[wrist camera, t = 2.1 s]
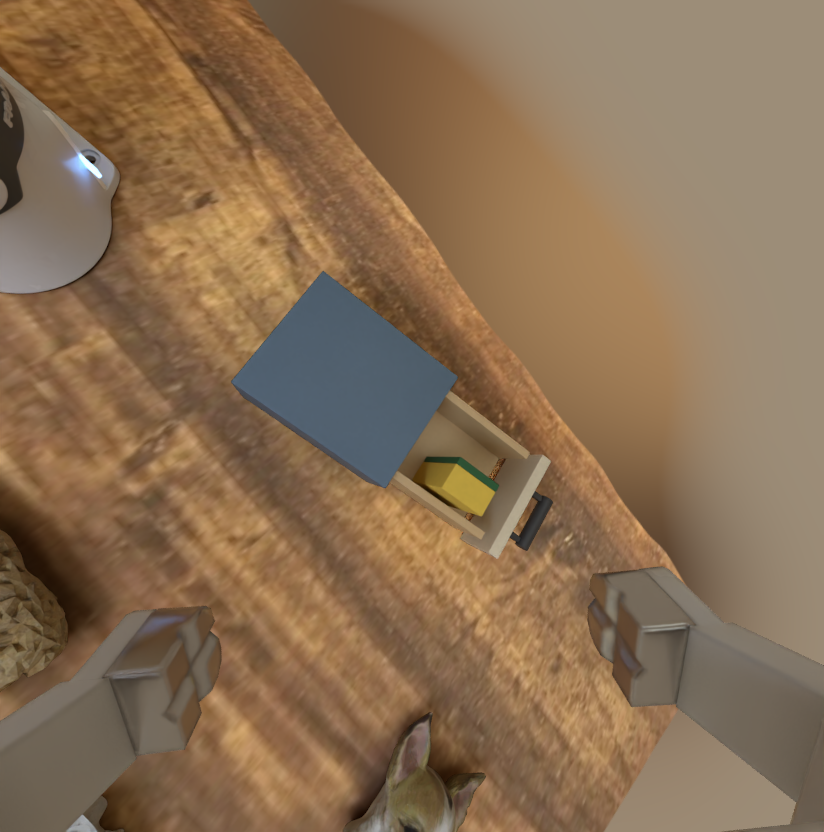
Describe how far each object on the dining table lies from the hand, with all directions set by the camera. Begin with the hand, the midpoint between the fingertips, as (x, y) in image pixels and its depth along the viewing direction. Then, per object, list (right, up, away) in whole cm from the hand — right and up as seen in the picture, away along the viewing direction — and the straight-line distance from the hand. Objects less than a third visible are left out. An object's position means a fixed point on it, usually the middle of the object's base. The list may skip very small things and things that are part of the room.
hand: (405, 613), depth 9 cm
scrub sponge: (+3, -3, +34) cm, 35 cm away
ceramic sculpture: (-1, -34, +32) cm, 47 cm away
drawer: (+5, -3, +36) cm, 37 cm away
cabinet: (-7, +7, +34) cm, 35 cm away
